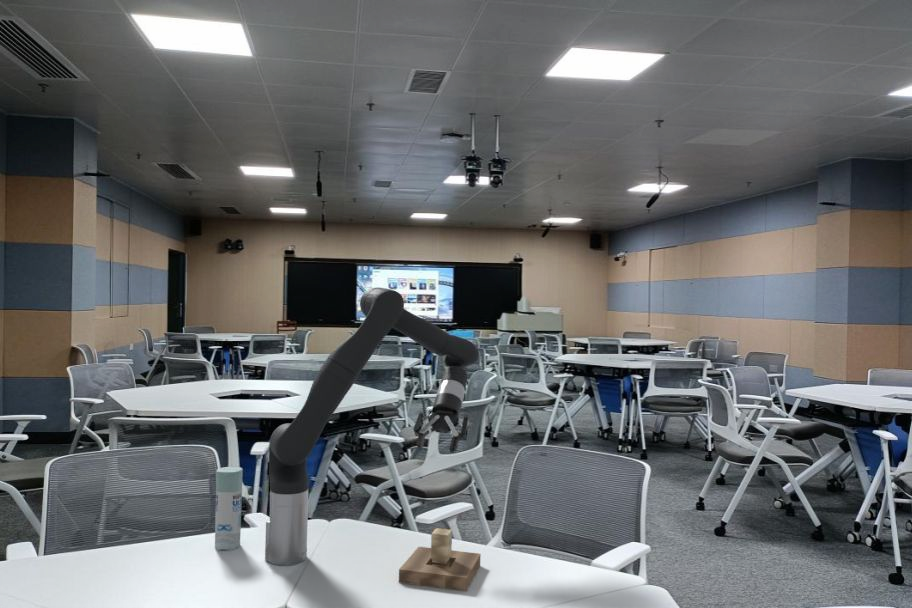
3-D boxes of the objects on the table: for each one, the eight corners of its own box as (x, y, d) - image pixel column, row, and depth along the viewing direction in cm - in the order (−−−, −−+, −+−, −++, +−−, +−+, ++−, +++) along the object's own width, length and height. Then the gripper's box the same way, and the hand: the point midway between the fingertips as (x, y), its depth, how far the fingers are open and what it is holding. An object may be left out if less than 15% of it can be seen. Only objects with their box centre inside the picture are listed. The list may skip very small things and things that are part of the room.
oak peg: (430, 576, 152) (431, 533, 152) (435, 569, 156) (436, 528, 156) (446, 578, 151) (447, 535, 151) (451, 571, 155) (452, 529, 155)
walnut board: (398, 582, 148) (399, 569, 148) (418, 558, 163) (418, 546, 163) (466, 591, 144) (466, 577, 144) (480, 565, 159) (480, 553, 159)
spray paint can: (235, 551, 165) (237, 472, 165) (210, 550, 165) (212, 472, 165) (244, 542, 171) (246, 466, 171) (219, 541, 171) (221, 466, 171)
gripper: (421, 389, 177) (406, 439, 165) (472, 393, 173) (460, 443, 162) (426, 406, 182) (412, 455, 170) (475, 410, 178) (464, 460, 167)
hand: (435, 449), depth 166 cm, fingers open, 8 cm apart
